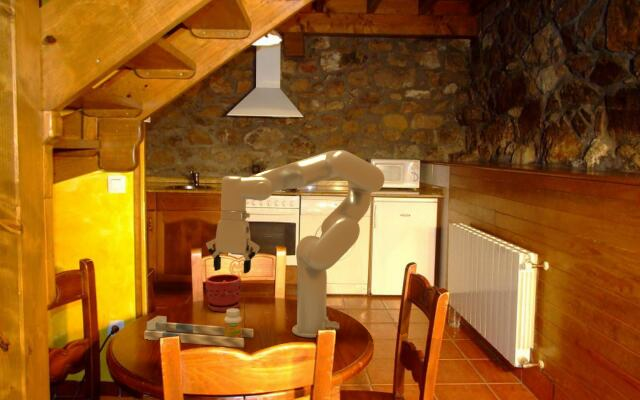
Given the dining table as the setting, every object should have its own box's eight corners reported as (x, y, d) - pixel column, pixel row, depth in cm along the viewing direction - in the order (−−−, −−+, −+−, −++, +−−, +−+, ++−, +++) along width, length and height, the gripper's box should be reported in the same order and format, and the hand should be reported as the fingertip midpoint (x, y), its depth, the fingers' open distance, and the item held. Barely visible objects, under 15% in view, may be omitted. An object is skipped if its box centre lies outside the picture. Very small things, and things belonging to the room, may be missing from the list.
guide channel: (253, 336, 163) (253, 321, 163) (242, 347, 154) (242, 331, 153) (160, 329, 169) (160, 314, 169) (144, 339, 160) (144, 323, 159)
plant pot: (206, 304, 200) (206, 274, 199) (240, 303, 202) (240, 273, 202) (205, 314, 187) (205, 281, 186) (241, 313, 190) (241, 280, 189)
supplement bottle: (228, 345, 156) (228, 313, 155) (221, 339, 160) (221, 309, 160) (244, 341, 159) (244, 310, 158) (237, 336, 163) (237, 306, 163)
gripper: (264, 216, 160) (262, 271, 161) (212, 213, 164) (211, 267, 165) (255, 218, 152) (253, 276, 153) (201, 215, 156) (200, 271, 157)
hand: (231, 271), depth 159 cm, fingers open, 9 cm apart
